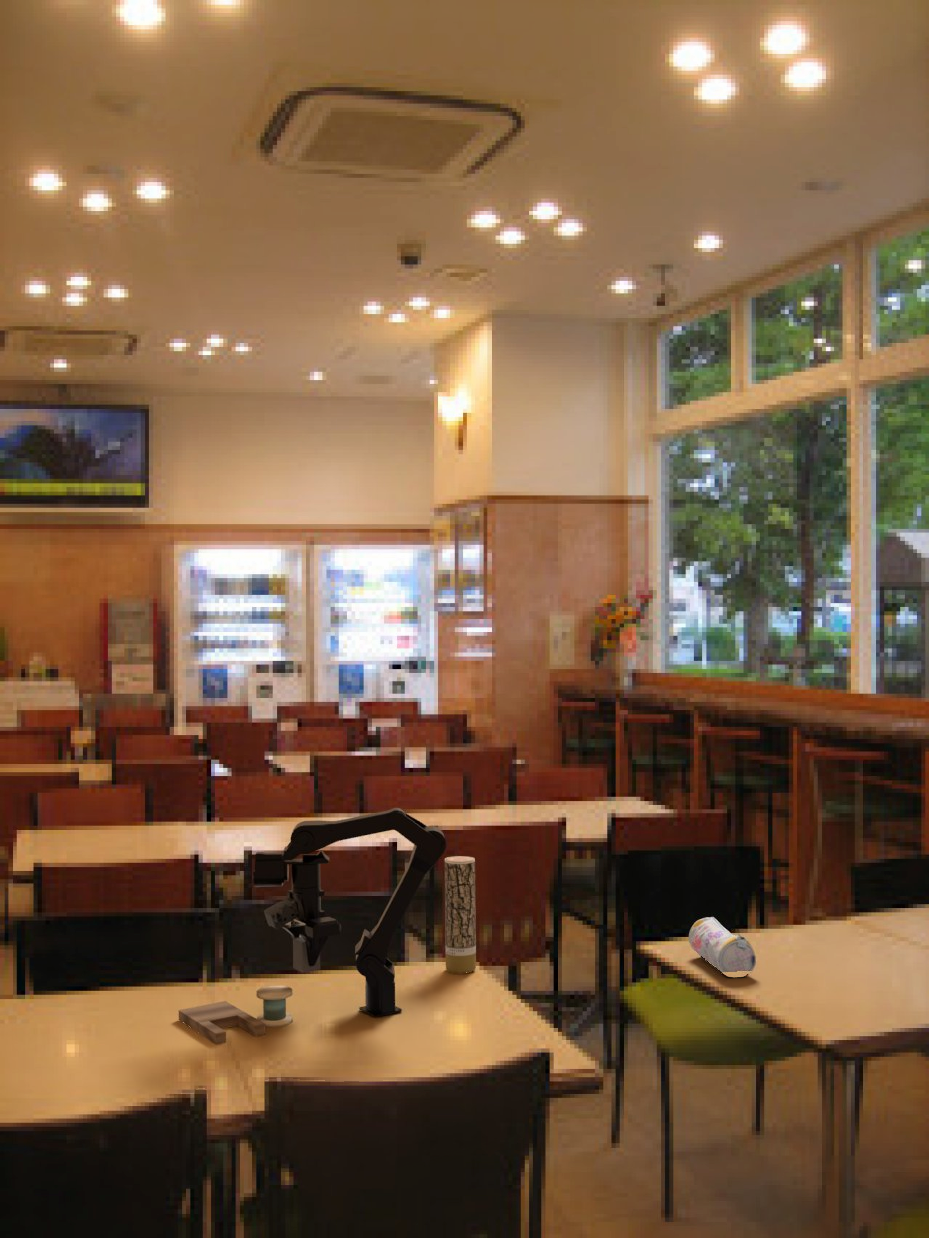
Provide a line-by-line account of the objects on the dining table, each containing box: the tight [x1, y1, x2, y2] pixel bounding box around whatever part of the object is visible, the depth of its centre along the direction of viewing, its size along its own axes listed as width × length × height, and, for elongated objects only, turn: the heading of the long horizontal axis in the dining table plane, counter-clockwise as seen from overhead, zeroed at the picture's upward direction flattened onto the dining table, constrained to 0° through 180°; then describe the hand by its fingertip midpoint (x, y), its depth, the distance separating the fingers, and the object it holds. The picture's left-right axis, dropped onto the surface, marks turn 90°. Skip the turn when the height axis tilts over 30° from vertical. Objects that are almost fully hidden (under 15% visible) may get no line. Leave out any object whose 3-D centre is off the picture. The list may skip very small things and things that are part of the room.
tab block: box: [292, 936, 321, 974], centre depth 256 cm, size 4×4×6 cm
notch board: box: [178, 1000, 266, 1045], centre depth 248 cm, size 18×10×2 cm, turn 35°
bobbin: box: [255, 985, 294, 1028], centre depth 251 cm, size 7×7×6 cm
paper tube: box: [444, 855, 477, 974], centre depth 286 cm, size 7×7×25 cm
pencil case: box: [688, 916, 757, 972], centre depth 287 cm, size 21×9×10 cm, turn 10°
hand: (306, 963), depth 256 cm, fingers closed on tab block, 4 cm apart
